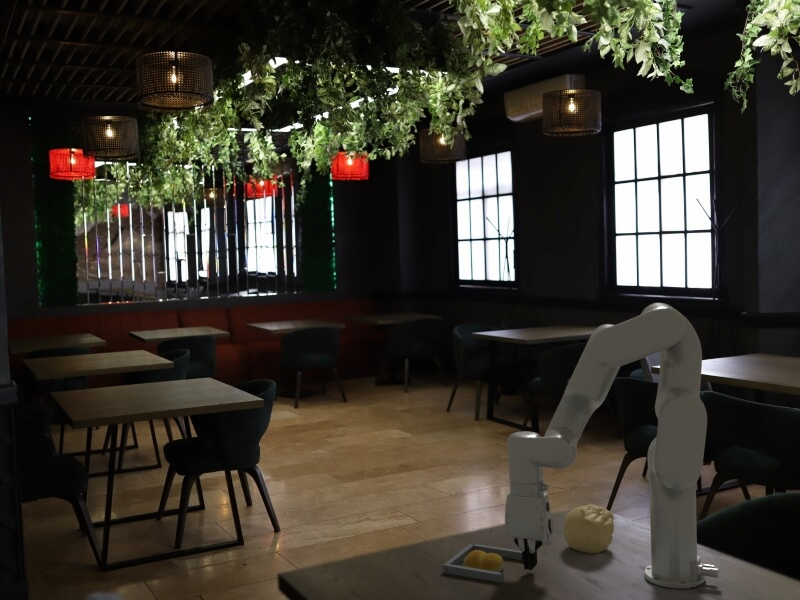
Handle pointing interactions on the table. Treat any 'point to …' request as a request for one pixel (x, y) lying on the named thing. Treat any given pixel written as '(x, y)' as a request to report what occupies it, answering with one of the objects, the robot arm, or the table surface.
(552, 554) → the table surface
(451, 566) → the bay
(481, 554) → the bread roll
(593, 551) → the pale yellow rounded lump
